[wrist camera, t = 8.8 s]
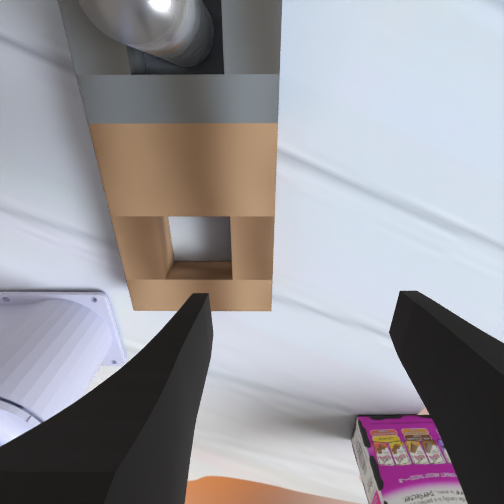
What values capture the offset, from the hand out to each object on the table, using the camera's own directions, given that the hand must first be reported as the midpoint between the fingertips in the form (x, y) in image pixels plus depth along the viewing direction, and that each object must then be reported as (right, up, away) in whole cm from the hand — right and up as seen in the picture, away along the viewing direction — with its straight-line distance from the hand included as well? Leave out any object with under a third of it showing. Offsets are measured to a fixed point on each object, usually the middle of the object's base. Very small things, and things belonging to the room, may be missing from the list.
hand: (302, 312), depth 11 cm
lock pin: (-6, +14, +4) cm, 16 cm away
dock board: (-6, +9, +7) cm, 13 cm away
